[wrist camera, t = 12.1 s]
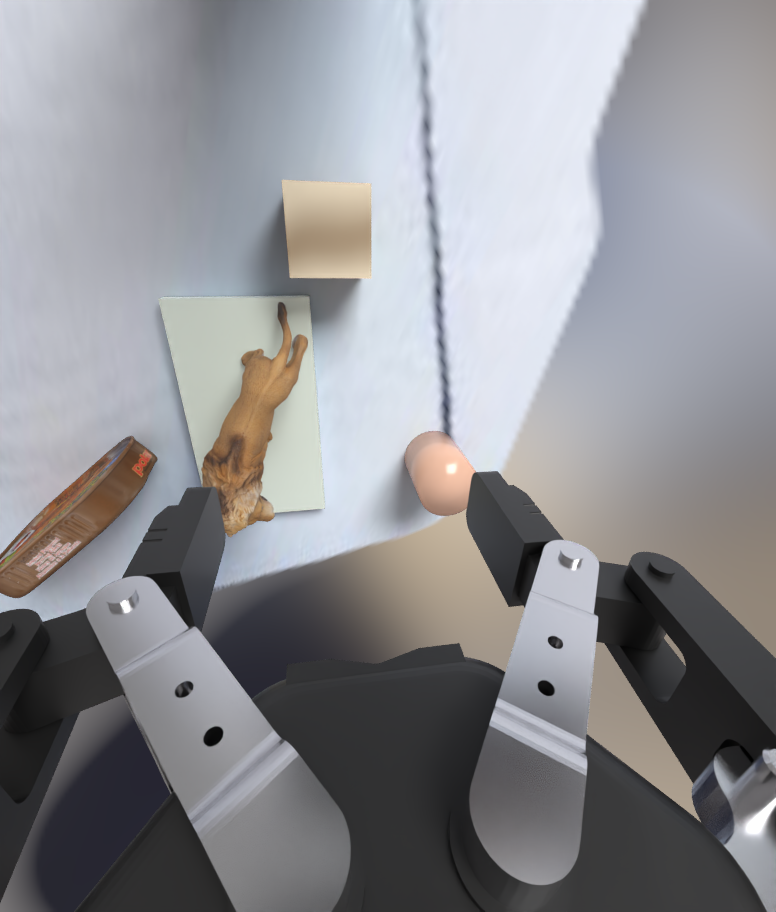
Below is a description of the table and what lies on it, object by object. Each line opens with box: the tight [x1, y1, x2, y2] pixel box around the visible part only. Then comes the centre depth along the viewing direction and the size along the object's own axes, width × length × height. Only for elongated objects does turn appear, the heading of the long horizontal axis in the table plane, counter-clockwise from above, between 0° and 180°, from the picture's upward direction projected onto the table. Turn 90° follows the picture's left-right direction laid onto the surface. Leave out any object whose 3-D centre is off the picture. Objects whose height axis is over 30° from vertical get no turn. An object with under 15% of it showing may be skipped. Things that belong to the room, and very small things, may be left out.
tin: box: [0, 436, 157, 598], centre depth 31 cm, size 15×3×8 cm, turn 127°
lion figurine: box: [201, 302, 308, 537], centre depth 28 cm, size 15×5×9 cm, turn 163°
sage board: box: [158, 295, 325, 513], centre depth 33 cm, size 18×10×1 cm, turn 0°
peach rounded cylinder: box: [405, 431, 476, 516], centre depth 36 cm, size 5×5×6 cm
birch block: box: [282, 180, 371, 278], centre depth 27 cm, size 5×5×5 cm
